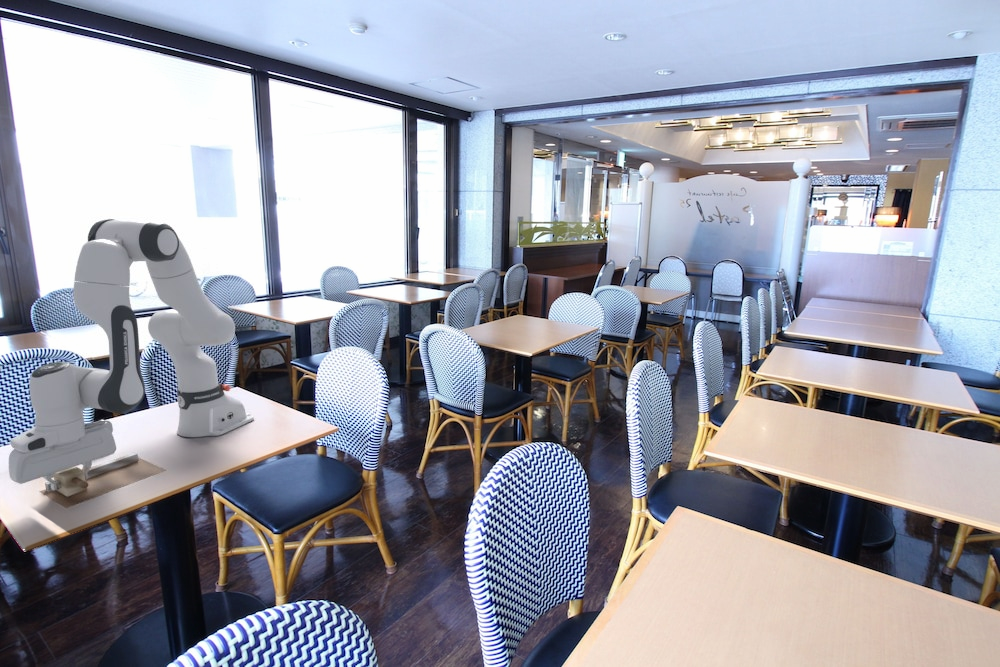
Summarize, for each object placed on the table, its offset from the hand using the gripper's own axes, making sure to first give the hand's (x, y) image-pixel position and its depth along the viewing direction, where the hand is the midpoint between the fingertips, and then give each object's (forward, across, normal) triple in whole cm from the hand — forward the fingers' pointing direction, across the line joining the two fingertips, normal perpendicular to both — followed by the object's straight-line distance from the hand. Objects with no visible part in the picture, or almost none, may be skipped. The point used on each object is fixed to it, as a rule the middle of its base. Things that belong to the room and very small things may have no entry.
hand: (70, 484), depth 127 cm
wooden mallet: (+2, 0, +2) cm, 3 cm away
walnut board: (+3, -7, +1) cm, 8 cm away
